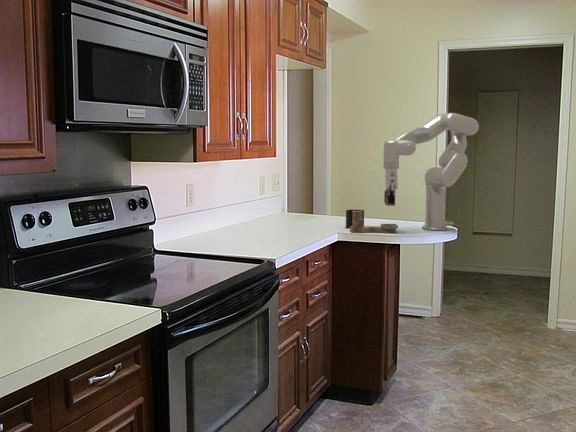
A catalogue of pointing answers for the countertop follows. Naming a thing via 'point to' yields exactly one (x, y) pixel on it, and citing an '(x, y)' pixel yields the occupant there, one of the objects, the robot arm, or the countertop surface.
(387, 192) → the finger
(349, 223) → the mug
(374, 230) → the rail
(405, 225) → the countertop surface
